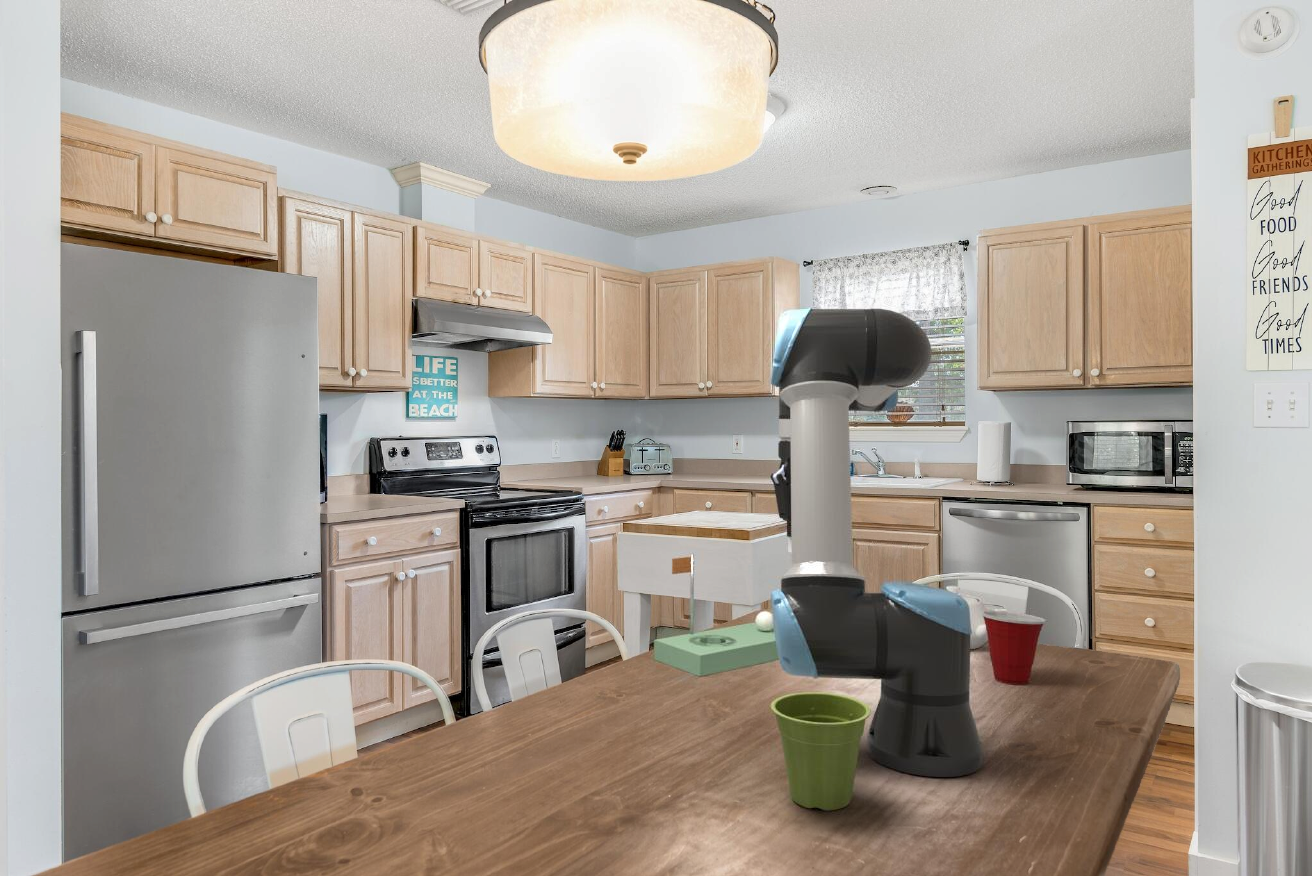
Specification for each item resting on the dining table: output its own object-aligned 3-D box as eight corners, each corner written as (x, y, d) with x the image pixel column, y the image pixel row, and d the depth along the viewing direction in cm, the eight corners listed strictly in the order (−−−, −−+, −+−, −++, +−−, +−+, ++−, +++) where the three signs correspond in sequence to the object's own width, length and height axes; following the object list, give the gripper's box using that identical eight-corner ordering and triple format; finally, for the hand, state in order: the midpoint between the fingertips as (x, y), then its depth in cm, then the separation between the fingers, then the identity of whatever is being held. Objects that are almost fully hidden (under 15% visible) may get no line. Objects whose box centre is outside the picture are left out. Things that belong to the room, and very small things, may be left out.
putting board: (699, 676, 154) (700, 655, 154) (653, 659, 166) (654, 639, 166) (821, 650, 173) (821, 631, 173) (772, 636, 185) (772, 619, 185)
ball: (764, 634, 171) (765, 614, 171) (751, 630, 174) (751, 611, 174) (779, 631, 173) (779, 612, 173) (765, 627, 176) (765, 608, 176)
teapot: (885, 637, 186) (885, 581, 186) (934, 628, 194) (935, 574, 194) (980, 665, 164) (981, 601, 164) (1032, 653, 172) (1032, 593, 172)
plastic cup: (1057, 682, 153) (1058, 615, 153) (1023, 692, 146) (1023, 623, 146) (1002, 668, 161) (1003, 605, 161) (967, 677, 155) (968, 611, 155)
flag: (673, 637, 167) (673, 556, 167) (670, 637, 168) (671, 556, 168) (694, 634, 170) (694, 554, 170) (691, 633, 171) (692, 553, 171)
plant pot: (800, 771, 112) (801, 685, 112) (886, 796, 104) (887, 704, 104) (751, 801, 102) (752, 708, 102) (841, 831, 95) (842, 730, 95)
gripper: (787, 440, 172) (786, 557, 172) (831, 440, 179) (830, 552, 180) (761, 439, 178) (760, 552, 178) (805, 439, 185) (803, 547, 186)
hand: (795, 552), depth 179 cm, fingers closed
